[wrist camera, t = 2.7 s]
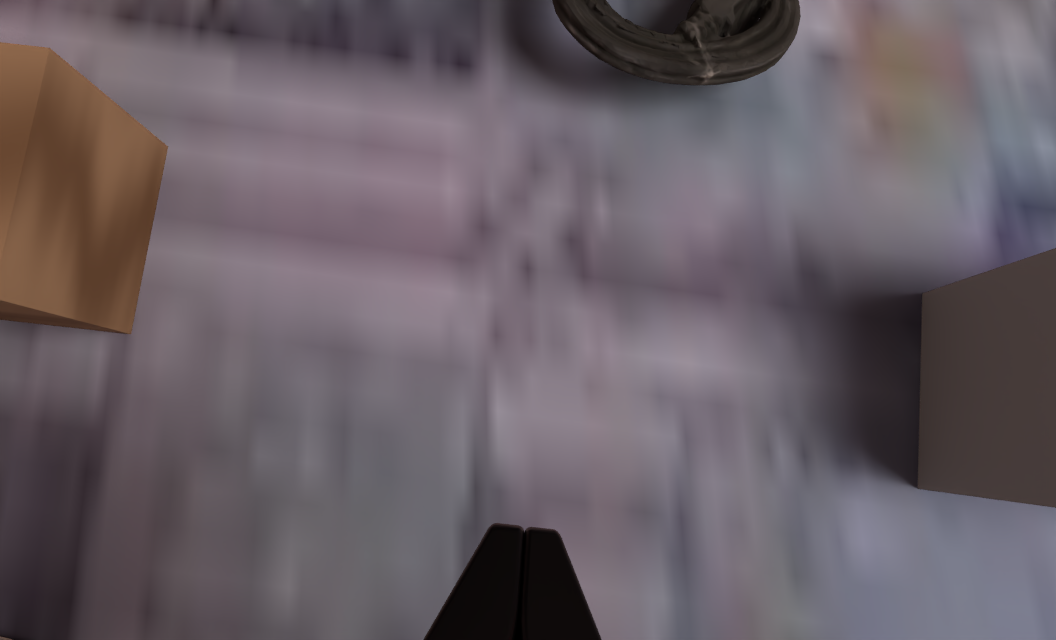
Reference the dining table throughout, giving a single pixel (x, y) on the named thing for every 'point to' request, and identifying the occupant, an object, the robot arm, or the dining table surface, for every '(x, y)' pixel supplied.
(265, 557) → the dining table surface
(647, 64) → the milk frother
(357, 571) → the dining table surface
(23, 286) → the walnut block
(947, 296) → the beige block
